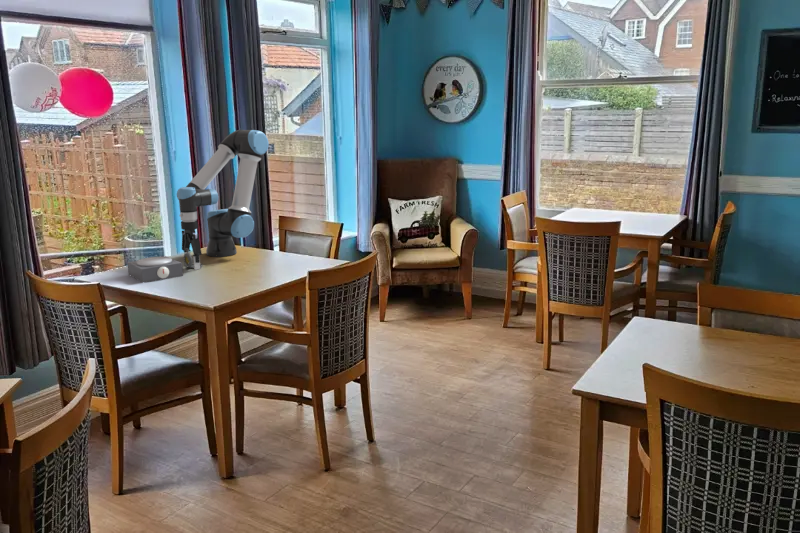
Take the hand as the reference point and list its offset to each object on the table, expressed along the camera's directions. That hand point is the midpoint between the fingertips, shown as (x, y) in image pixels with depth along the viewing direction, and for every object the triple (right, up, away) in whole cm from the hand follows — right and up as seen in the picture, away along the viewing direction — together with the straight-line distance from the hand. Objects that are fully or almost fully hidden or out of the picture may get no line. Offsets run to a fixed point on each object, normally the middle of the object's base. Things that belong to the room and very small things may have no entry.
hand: (192, 267), depth 321 cm
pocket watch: (0, 0, 0) cm, 0 cm away
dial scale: (-12, -4, -14) cm, 19 cm away
